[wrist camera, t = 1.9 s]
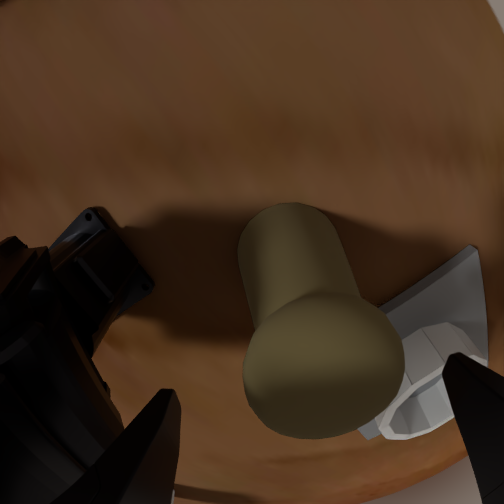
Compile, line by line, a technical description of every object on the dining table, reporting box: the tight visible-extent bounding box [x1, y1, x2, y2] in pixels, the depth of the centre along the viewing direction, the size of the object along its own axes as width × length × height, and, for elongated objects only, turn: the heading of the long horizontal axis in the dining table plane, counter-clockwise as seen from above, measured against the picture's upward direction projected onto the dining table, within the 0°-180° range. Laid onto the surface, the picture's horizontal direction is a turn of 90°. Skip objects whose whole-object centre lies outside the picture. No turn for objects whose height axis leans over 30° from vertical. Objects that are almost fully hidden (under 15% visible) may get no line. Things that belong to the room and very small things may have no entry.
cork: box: [237, 203, 405, 439], centre depth 12 cm, size 6×6×11 cm
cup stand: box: [358, 245, 488, 440], centre depth 19 cm, size 15×16×5 cm
